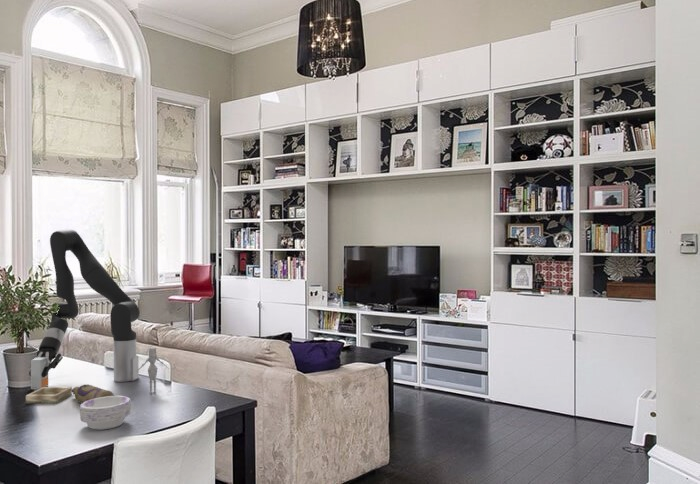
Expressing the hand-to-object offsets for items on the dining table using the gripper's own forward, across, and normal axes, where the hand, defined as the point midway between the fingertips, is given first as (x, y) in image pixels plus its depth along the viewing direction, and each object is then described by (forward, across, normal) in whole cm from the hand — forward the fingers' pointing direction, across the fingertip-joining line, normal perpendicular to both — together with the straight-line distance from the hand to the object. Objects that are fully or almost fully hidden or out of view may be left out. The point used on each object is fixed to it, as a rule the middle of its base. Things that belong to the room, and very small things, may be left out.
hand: (37, 376), depth 238 cm
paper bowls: (+36, +48, -29) cm, 67 cm away
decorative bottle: (+18, +32, -10) cm, 38 cm away
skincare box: (+2, 0, +5) cm, 6 cm away
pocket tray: (+14, +13, -7) cm, 21 cm away
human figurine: (+10, +50, -2) cm, 51 cm away
